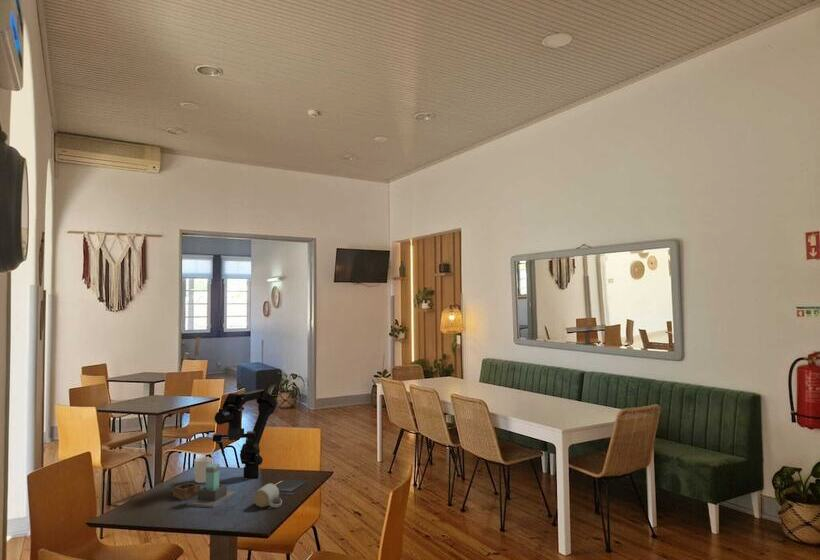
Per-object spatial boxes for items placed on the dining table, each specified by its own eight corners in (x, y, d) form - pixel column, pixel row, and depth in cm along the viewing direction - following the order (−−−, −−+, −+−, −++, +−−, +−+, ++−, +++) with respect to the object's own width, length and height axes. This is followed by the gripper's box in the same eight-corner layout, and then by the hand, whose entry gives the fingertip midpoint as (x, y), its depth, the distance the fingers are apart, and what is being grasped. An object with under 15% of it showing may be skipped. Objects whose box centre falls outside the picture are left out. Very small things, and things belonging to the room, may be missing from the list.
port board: (211, 492, 240) (211, 480, 240) (236, 493, 238) (236, 482, 238) (186, 505, 222) (186, 493, 223) (213, 507, 220) (213, 495, 220)
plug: (211, 495, 233) (211, 464, 233) (219, 495, 232) (219, 464, 233) (205, 498, 228) (205, 466, 229) (213, 499, 227) (214, 467, 228)
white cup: (194, 479, 260) (194, 457, 260) (212, 477, 262) (212, 456, 263) (193, 484, 252) (193, 461, 253) (211, 482, 254) (211, 460, 255)
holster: (190, 491, 241) (190, 482, 241) (199, 494, 237) (199, 485, 237) (172, 496, 234) (173, 486, 235) (182, 499, 230) (182, 489, 230)
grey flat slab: (291, 492, 235) (260, 489, 239) (291, 497, 235) (260, 494, 239) (312, 479, 254) (283, 477, 258) (312, 483, 254) (283, 481, 258)
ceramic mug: (252, 507, 220) (252, 487, 221) (263, 501, 228) (263, 482, 229) (275, 510, 217) (275, 490, 218) (285, 503, 225) (286, 484, 226)
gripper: (212, 425, 243) (211, 461, 242) (256, 422, 248) (255, 458, 247) (213, 420, 254) (212, 455, 253) (255, 418, 259) (255, 452, 258)
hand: (234, 455), depth 252 cm, fingers open, 9 cm apart
